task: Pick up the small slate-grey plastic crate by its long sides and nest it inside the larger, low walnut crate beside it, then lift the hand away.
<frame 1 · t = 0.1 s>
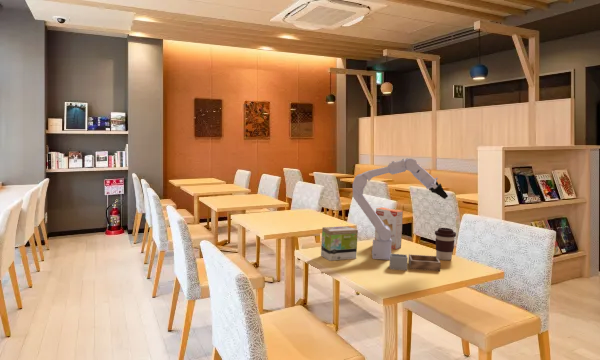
hand: (445, 196, 199), 32 cm above the table, tool tilted 50°, fingers open, 7 cm apart
coffee cup: (443, 258, 208), on the table
walnut crate: (423, 266, 193), on the table
cracker box: (387, 246, 229), on the table
tea box: (338, 257, 205), on the table
grey crate: (398, 268, 190), on the table
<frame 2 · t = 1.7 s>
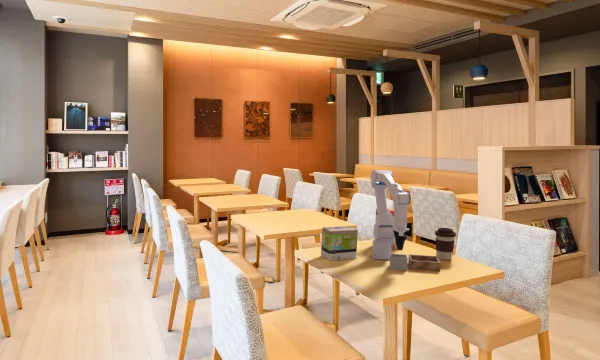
hand: (399, 248, 189), 9 cm above the table, tool pointing down, fingers open, 7 cm apart
nothing on the table moved.
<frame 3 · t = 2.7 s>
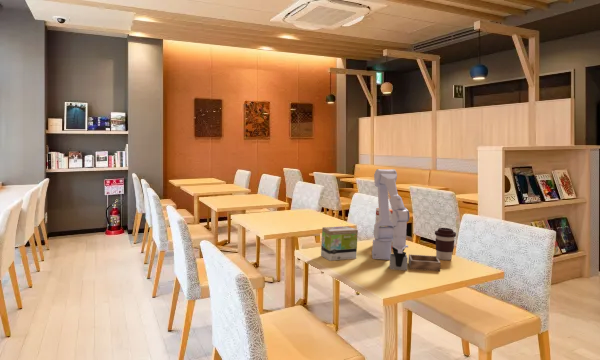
hand: (398, 264, 190), 2 cm above the table, tool pointing down, fingers closed on grey crate, 5 cm apart
grey crate: (398, 268, 190), on the table, touching gripper
everything else where it was.
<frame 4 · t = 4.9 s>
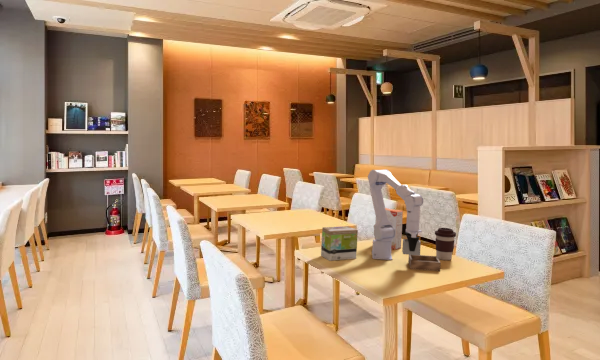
hand: (411, 249, 191), 8 cm above the table, tool pointing down, fingers closed on grey crate, 5 cm apart
grey crate: (411, 253, 191), point 7 cm above the table, touching gripper
everything else where it was.
when the fingers open (4 cm above the table, at t = 6.6 s): grey crate drops 2 cm, resting on walnut crate.
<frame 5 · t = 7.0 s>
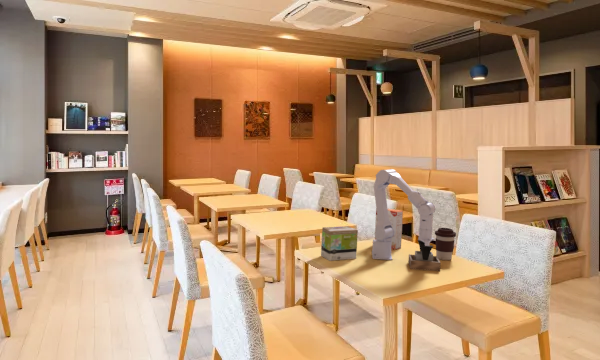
hand: (424, 257, 193), 4 cm above the table, tool pointing down, fingers open, 7 cm apart
grey crate: (423, 265, 193), point 1 cm above the table, touching walnut crate
everything else where it was.
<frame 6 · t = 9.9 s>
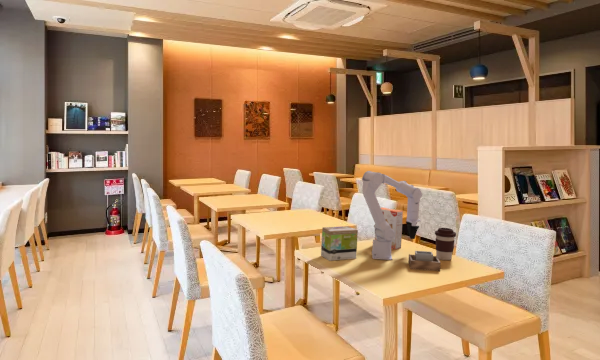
hand: (411, 237, 212), 9 cm above the table, tool pointing down, fingers open, 7 cm apart
nothing on the table moved.
at the end: grey crate 0.2 cm off-centre on the walnut crate, point 0.7 cm above the walnut crate's base; grey crate tilted 0°; the gripper is holding nothing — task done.
